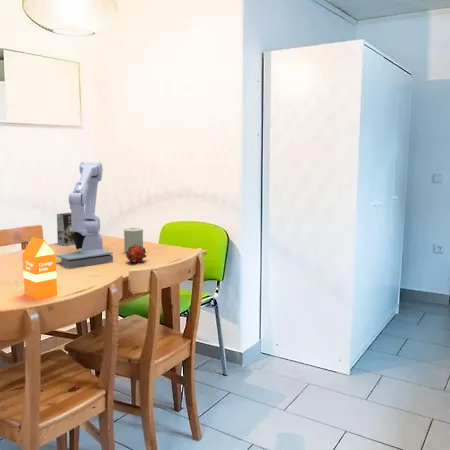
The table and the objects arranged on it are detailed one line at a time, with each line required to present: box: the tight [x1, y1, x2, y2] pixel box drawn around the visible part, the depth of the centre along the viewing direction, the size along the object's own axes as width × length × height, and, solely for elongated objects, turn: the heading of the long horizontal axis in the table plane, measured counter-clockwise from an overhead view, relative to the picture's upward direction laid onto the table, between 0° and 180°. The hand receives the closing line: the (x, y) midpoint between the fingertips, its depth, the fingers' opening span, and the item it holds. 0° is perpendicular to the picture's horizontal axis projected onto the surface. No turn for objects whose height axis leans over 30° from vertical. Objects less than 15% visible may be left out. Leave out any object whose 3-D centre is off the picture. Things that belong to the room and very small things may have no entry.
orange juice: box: [22, 236, 58, 300], centre depth 170 cm, size 8×9×20 cm
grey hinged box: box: [60, 254, 114, 269], centre depth 217 cm, size 20×9×3 cm, turn 130°
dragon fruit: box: [125, 244, 147, 264], centre depth 219 cm, size 8×8×12 cm
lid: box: [56, 248, 114, 260], centre depth 218 cm, size 20×14×3 cm
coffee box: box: [56, 212, 75, 247], centre depth 257 cm, size 9×6×16 cm
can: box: [123, 227, 144, 255], centre depth 238 cm, size 9×9×12 cm
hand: (79, 248), depth 223 cm, fingers closed, pressing on lid
